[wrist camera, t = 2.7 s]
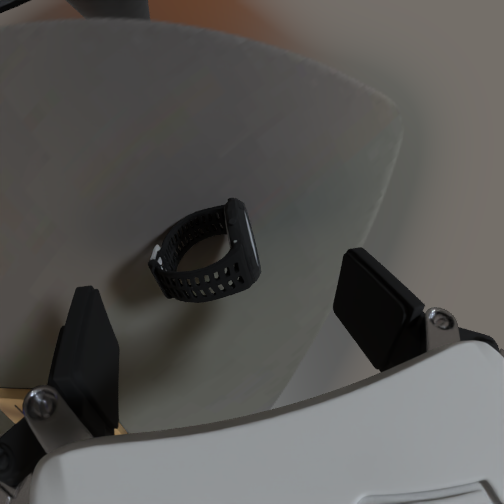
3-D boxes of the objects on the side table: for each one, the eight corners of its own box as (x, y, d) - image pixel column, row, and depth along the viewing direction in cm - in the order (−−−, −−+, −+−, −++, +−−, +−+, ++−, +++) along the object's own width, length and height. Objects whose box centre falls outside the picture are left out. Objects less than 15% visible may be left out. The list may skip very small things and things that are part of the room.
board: (-10, 386, 16) (-13, 397, 15) (94, 387, 19) (94, 401, 18) (62, 454, 24) (62, 463, 23) (145, 454, 27) (147, 463, 26)
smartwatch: (242, 253, 17) (273, 312, 13) (149, 256, 15) (150, 321, 11) (252, 182, 15) (292, 225, 11) (148, 180, 13) (144, 226, 9)
